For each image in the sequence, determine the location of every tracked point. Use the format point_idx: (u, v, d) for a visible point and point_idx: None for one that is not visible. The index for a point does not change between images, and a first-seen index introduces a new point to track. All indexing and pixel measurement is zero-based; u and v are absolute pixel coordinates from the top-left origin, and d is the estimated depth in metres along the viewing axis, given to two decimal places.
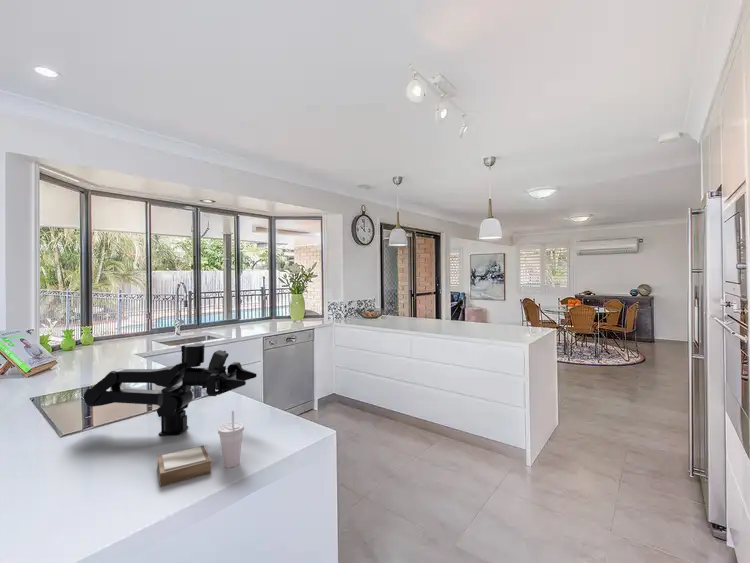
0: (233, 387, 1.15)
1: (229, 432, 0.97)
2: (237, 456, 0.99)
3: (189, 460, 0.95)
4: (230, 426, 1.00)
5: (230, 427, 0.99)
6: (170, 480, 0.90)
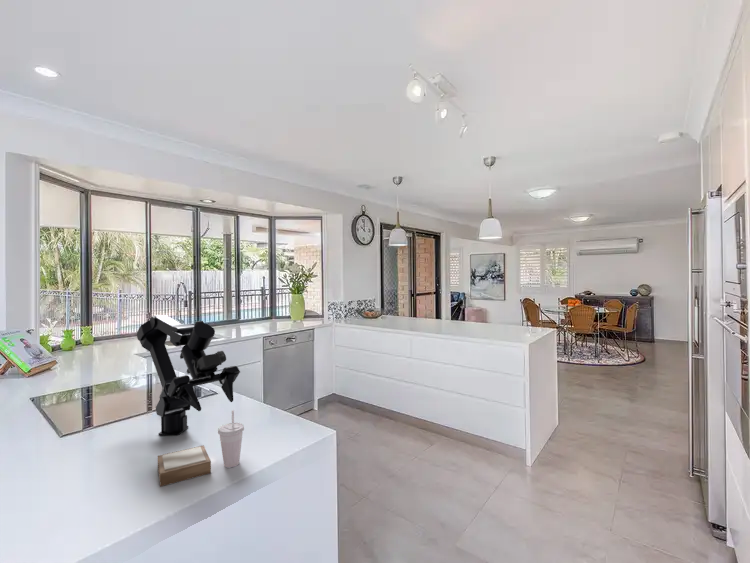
0: (190, 403, 1.02)
1: (229, 432, 0.97)
2: (237, 456, 0.99)
3: (189, 460, 0.95)
4: (230, 426, 1.00)
5: (230, 427, 0.99)
6: (170, 480, 0.90)
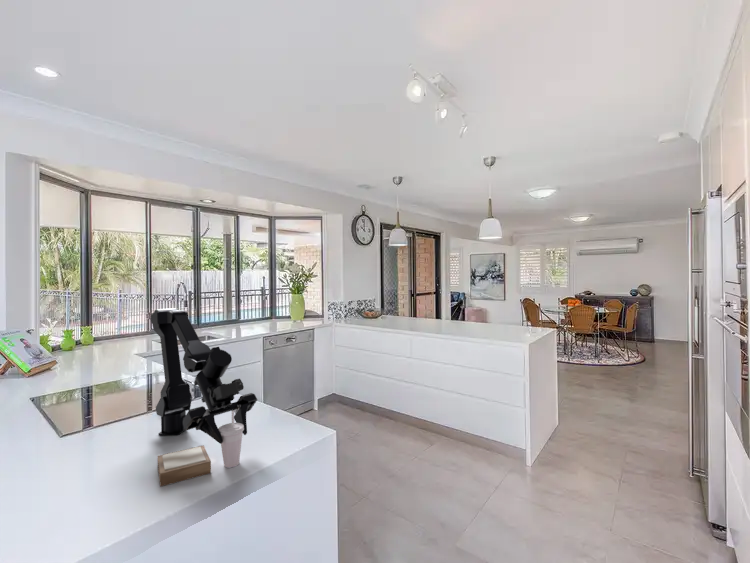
0: (211, 435, 0.97)
1: (229, 432, 0.97)
2: (237, 456, 0.99)
3: (189, 460, 0.95)
4: (230, 426, 1.00)
5: (230, 427, 0.99)
6: (170, 480, 0.90)
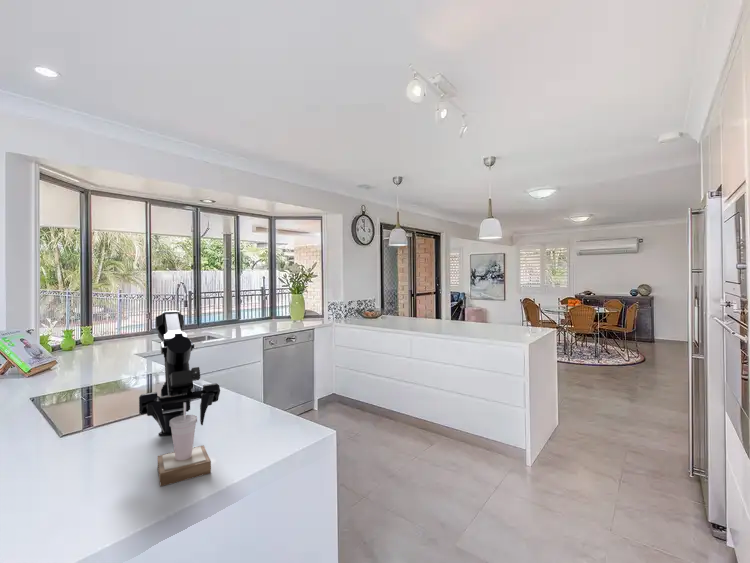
0: (158, 422, 0.95)
1: (176, 424, 0.94)
2: (186, 450, 0.95)
3: (189, 460, 0.95)
4: (183, 418, 0.97)
5: (181, 419, 0.96)
6: (170, 480, 0.90)
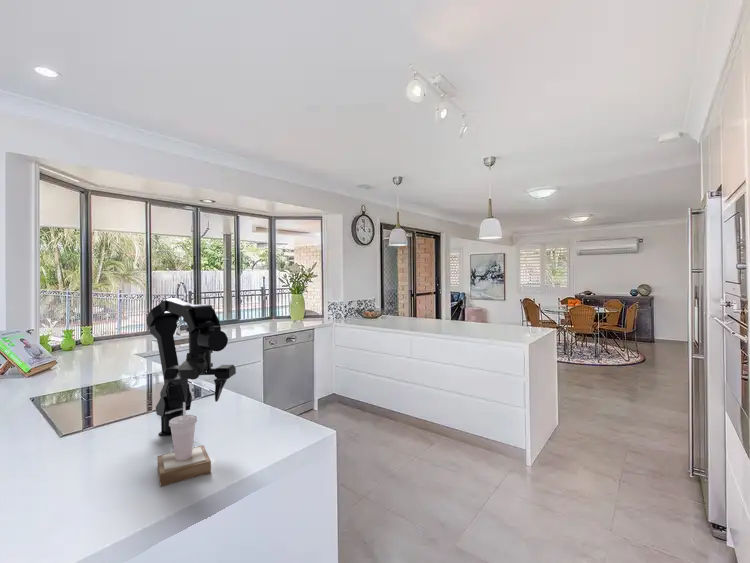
0: None
1: (175, 424, 0.94)
2: (186, 450, 0.95)
3: (189, 460, 0.95)
4: (182, 418, 0.97)
5: (181, 419, 0.96)
6: (170, 480, 0.90)
